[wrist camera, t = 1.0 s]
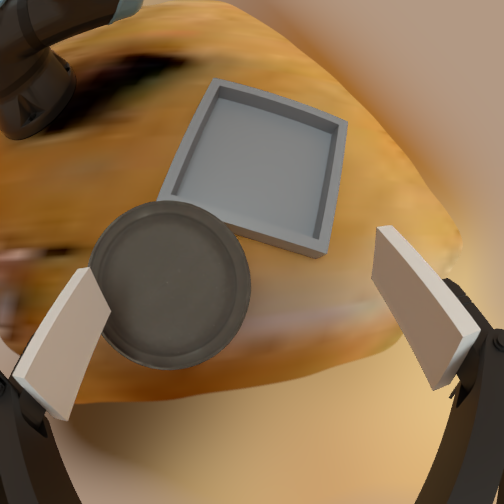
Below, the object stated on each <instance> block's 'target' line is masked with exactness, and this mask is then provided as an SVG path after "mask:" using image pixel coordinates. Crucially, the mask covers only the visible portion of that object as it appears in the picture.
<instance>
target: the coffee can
mask: <svg viewBox="0 0 504 504" xmlns="http://www.w3.org/2000/svg"><path fill="white" fill-rule="evenodd" d="M88 267H90V269H91V271H92V273H93V275H94V277H95V280H96V282H97V284H98V286H99V288H100V290H101V292H102V294H103V296H104V298H105V300H106V302H107V304H108V306H109V308H110V310H111V313H110V315H109V317H108V319H107V321H106V324H105V326H104V328H103V330H102V333H101V334H102V336H103V337H104V338H105V340H106V341H107V342H108V343H109V344H110V345H111V346H112V347H113V348H114V349H115V350H116V351H118V352H119V353H120V354H121V355H123V356H124V357H126V358H127V359H129V360H131V361H133V362H135V363H137V364H139V365H142V366H146V367H149V368H153V369H160V370H177V369H184V368H188V367H192V366H195V365H198V364H200V363H202V362H204V361H207V360H208V359H210V358H212V357H213V356H215V355H216V354H218V353H219V352H220V351H221V350H223V349H224V348H225V347H226V346H227V345H228V344H229V343H230V341H231V340H232V339H233V338H234V337H235V335H236V334H237V332H238V330H239V329H240V327H241V325H242V323H243V320H244V318H245V315H246V313H247V309H248V305H249V301H250V294H251V279H250V271H249V266H248V262H247V259H246V256H245V254H244V251H243V249H242V247H241V245H240V243H239V241H238V240H237V238H236V237H235V235H234V234H233V232H232V231H231V230H230V229H229V228H228V227H227V226H226V225H225V224H224V223H223V222H222V221H221V220H220V219H219V218H217V217H216V216H215V215H213V214H211V213H210V212H208V211H206V210H204V209H202V208H201V207H198V206H195V205H193V204H190V203H186V202H180V201H171V200H163V201H155V202H149V203H145V204H142V205H139V206H137V207H134V208H132V209H131V210H129V211H127V212H125V213H124V214H122V215H121V216H119V217H118V218H117V219H115V220H114V221H113V222H112V223H111V224H110V225H109V226H108V227H107V228H106V229H105V231H104V232H103V233H102V235H101V236H100V238H99V239H98V241H97V242H96V244H95V246H94V249H93V251H92V253H91V256H90V259H89V263H88Z"/></svg>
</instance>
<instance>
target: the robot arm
mask: <svg viewBox="0 0 504 504" xmlns="http://www.w3.org/2000/svg"><path fill="white" fill-rule="evenodd" d="M142 4H143V0H0V130H1V131H2V132H3V134H4V135H5V136H6V137H8V138H9V139H13V140H19V139H24V138H27V137H29V136H31V135H33V134H35V133H37V132H38V131H40V130H42V129H43V128H44V127H46V126H47V125H48V124H49V123H50V122H52V121H53V120H54V119H55V118H56V117H57V116H58V115H59V114H60V112H61V111H62V110H63V109H64V108H65V106H66V105H67V104H68V102H69V100H70V99H71V97H72V95H73V93H74V90H75V87H76V76H75V74H74V72H73V70H72V67H71V66H70V65H69V64H68V63H67V62H66V61H65V60H64V59H62V58H61V57H60V56H59V55H58V54H56V53H55V52H54V51H53V50H51V48H50V47H49V46H51V45H53V44H55V43H58V42H60V41H62V40H65V39H67V38H70V37H72V36H75V35H78V34H80V33H83V32H86V31H89V30H92V29H94V28H97V27H101V26H104V25H110V24H112V23H113V22H115V21H118V20H121V19H124V18H127V17H131V16H132V15H134V14H136V13H137V12H138V11H139V10H140V9H141V7H142ZM371 279H372V280H373V282H374V284H375V285H376V287H377V289H378V290H379V292H380V293H381V295H382V297H383V298H384V300H385V302H386V304H387V305H388V307H389V309H390V310H391V312H392V314H393V316H394V317H395V319H396V321H397V323H398V324H399V326H400V328H401V330H402V332H403V333H404V335H405V337H406V339H407V341H408V342H409V345H410V346H411V348H412V350H413V352H414V354H415V356H416V358H417V360H418V362H419V363H420V366H421V368H422V370H423V372H424V374H425V376H426V378H427V380H428V382H429V384H430V386H431V388H432V390H433V391H434V390H437V389H439V388H441V387H444V386H446V385H449V384H450V383H451V381H452V380H453V378H454V377H455V375H456V374H457V376H458V378H459V379H460V381H459V383H458V384H457V386H456V387H455V389H454V390H453V392H452V393H451V395H450V397H449V398H450V399H452V397H453V396H454V394H455V397H454V401H453V404H452V408H451V412H450V415H449V419H448V422H447V426H446V429H445V432H444V435H443V438H442V441H441V444H440V446H439V449H438V452H437V454H436V457H435V460H434V462H433V465H432V467H431V470H430V472H429V474H428V476H427V479H426V481H425V483H424V485H423V487H422V490H421V492H420V494H419V496H418V498H417V500H416V502H415V504H493V501H494V498H495V495H496V492H497V489H498V486H499V489H498V497H497V503H496V504H504V330H503V329H493V328H492V327H491V325H490V324H489V323H488V321H487V320H486V319H485V317H484V316H483V315H482V313H481V312H480V311H479V310H478V308H477V307H476V306H475V305H474V303H472V302H471V300H470V298H469V297H468V296H466V294H465V292H464V291H463V290H462V289H461V288H460V287H459V285H457V284H456V283H454V282H452V281H451V280H450V279H448V278H446V279H441V278H440V277H439V276H438V275H437V273H436V272H435V271H434V270H433V269H432V268H431V267H430V265H429V264H428V263H427V262H426V261H425V260H424V259H423V258H422V256H421V255H420V254H419V253H418V252H417V251H416V250H415V249H414V248H413V247H412V246H411V245H410V244H409V243H408V241H407V240H406V239H405V238H404V237H403V236H402V235H401V234H400V233H399V232H398V231H397V230H396V229H395V228H394V227H393V226H392V225H389V226H381V227H377V228H376V241H375V251H374V261H373V269H372V277H371ZM110 313H111V310H110V308H109V306H108V304H107V302H106V300H105V298H104V296H103V294H102V292H101V290H100V288H99V286H98V284H97V282H96V280H95V277H94V275H93V273H92V271H91V269H90V267H86V268H80V269H77V271H76V272H75V273H74V275H73V276H72V278H71V279H70V280H69V282H68V283H67V285H66V286H65V288H64V289H63V290H62V292H61V293H60V295H59V296H58V298H57V299H56V301H55V302H54V304H53V305H52V307H51V308H50V310H49V312H48V313H47V315H46V316H45V318H44V320H43V321H42V323H41V324H40V326H39V328H38V329H37V331H36V332H35V333H34V334H33V335H32V337H31V338H30V340H29V342H28V343H27V347H25V349H24V351H23V354H21V356H20V358H19V360H18V362H17V364H16V365H15V367H14V370H13V371H12V373H11V375H10V377H9V379H7V378H6V377H5V376H4V374H3V373H2V372H1V371H0V504H82V503H81V501H80V499H79V497H78V495H77V493H76V491H75V489H74V487H73V485H72V482H71V480H70V478H69V475H68V473H67V471H66V468H65V466H64V464H63V461H62V458H61V456H60V453H59V450H58V448H57V445H56V442H55V439H54V436H53V433H52V430H51V427H50V423H49V421H48V419H47V418H46V417H45V416H44V414H45V412H46V411H47V412H48V413H49V414H51V415H52V416H53V417H54V418H56V419H60V420H64V421H68V419H69V416H70V413H71V410H72V407H73V404H74V401H75V399H76V396H77V393H78V390H79V387H80V385H81V382H82V379H83V377H84V374H85V371H86V369H87V366H88V364H89V361H90V359H91V356H92V354H93V352H94V349H95V347H96V344H97V342H98V340H99V337H100V335H101V333H102V330H103V328H104V326H105V324H106V321H107V319H108V317H109V315H110Z"/></svg>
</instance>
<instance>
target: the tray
mask: <svg viewBox="0 0 504 504" xmlns="http://www.w3.org/2000/svg"><path fill="white" fill-rule="evenodd" d="M347 126H348V122H347V121H345V120H343V119H340V118H338V117H336V116H333V115H331V114H328V113H326V112H323V111H321V110H318V109H316V108H313V107H310V106H308V105H305V104H302V103H299V102H297V101H294V100H291V99H288V98H285V97H282V96H279V95H276V94H273V93H269V92H266V91H263V90H259V89H256V88H252V87H249V86H245V85H242V84H238V83H234V82H230V81H226V80H222V79H217V78H213V80H212V82H211V84H210V85H209V87H208V89H207V91H206V93H205V95H204V97H203V99H202V100H201V102H200V104H199V106H198V108H197V110H196V112H195V114H194V116H193V118H192V120H191V122H190V124H189V127H188V129H187V131H186V133H185V135H184V137H183V139H182V141H181V144H180V146H179V148H178V150H177V152H176V155H175V157H174V159H173V162H172V164H171V166H170V168H169V171H168V173H167V176H166V178H165V180H164V183H163V185H162V188H161V190H160V193H159V195H158V198H157V200H156V201H163V200H171V201H180V202H186V203H190V204H193V205H195V206H198V207H201V208H202V209H204V210H206V211H208V212H210V213H211V214H213V215H215V216H216V217H217V218H219V219H220V220H221V221H222V222H223V223H224V224H225V225H226V226H227V227H228V228H229V229H230V230H231V231H232V232H233V234H236V235H240V236H243V237H246V238H250V239H253V240H256V241H259V242H263V243H266V244H269V245H273V246H276V247H279V248H282V249H286V250H289V251H292V252H295V253H298V254H302V255H305V256H308V257H311V258H315V259H316V258H319V257H321V256H323V255H325V254H327V251H328V246H329V241H330V236H331V231H332V225H333V220H334V214H335V209H336V203H337V197H338V191H339V185H340V178H341V172H342V165H343V158H344V150H345V143H346V135H347Z"/></svg>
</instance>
